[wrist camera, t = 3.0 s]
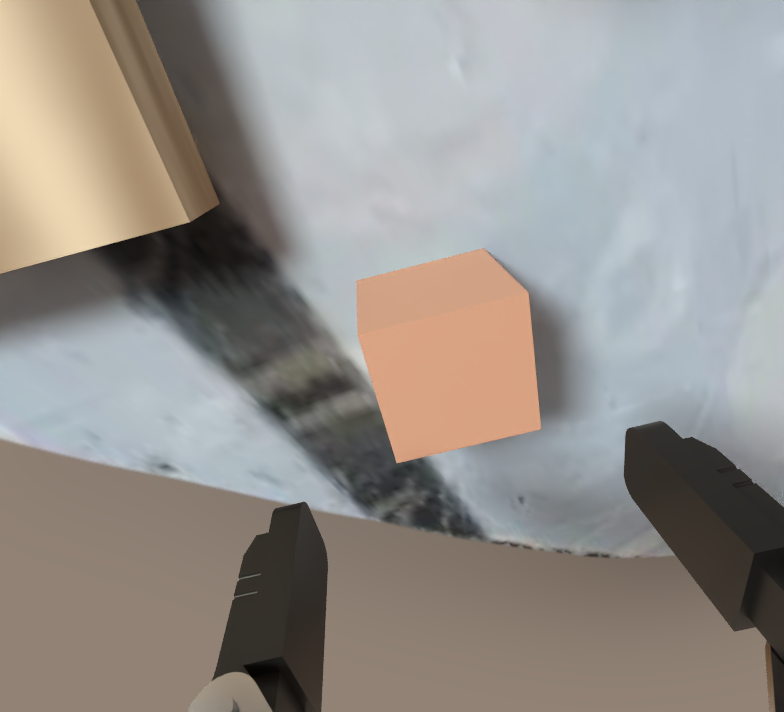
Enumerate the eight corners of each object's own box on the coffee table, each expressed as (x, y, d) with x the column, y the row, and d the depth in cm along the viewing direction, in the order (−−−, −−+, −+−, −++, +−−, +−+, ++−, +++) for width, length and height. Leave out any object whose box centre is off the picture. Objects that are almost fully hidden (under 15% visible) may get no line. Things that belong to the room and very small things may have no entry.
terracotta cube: (483, 247, 19) (528, 292, 14) (498, 358, 21) (541, 429, 16) (356, 280, 19) (357, 335, 14) (387, 385, 21) (396, 463, 17)
